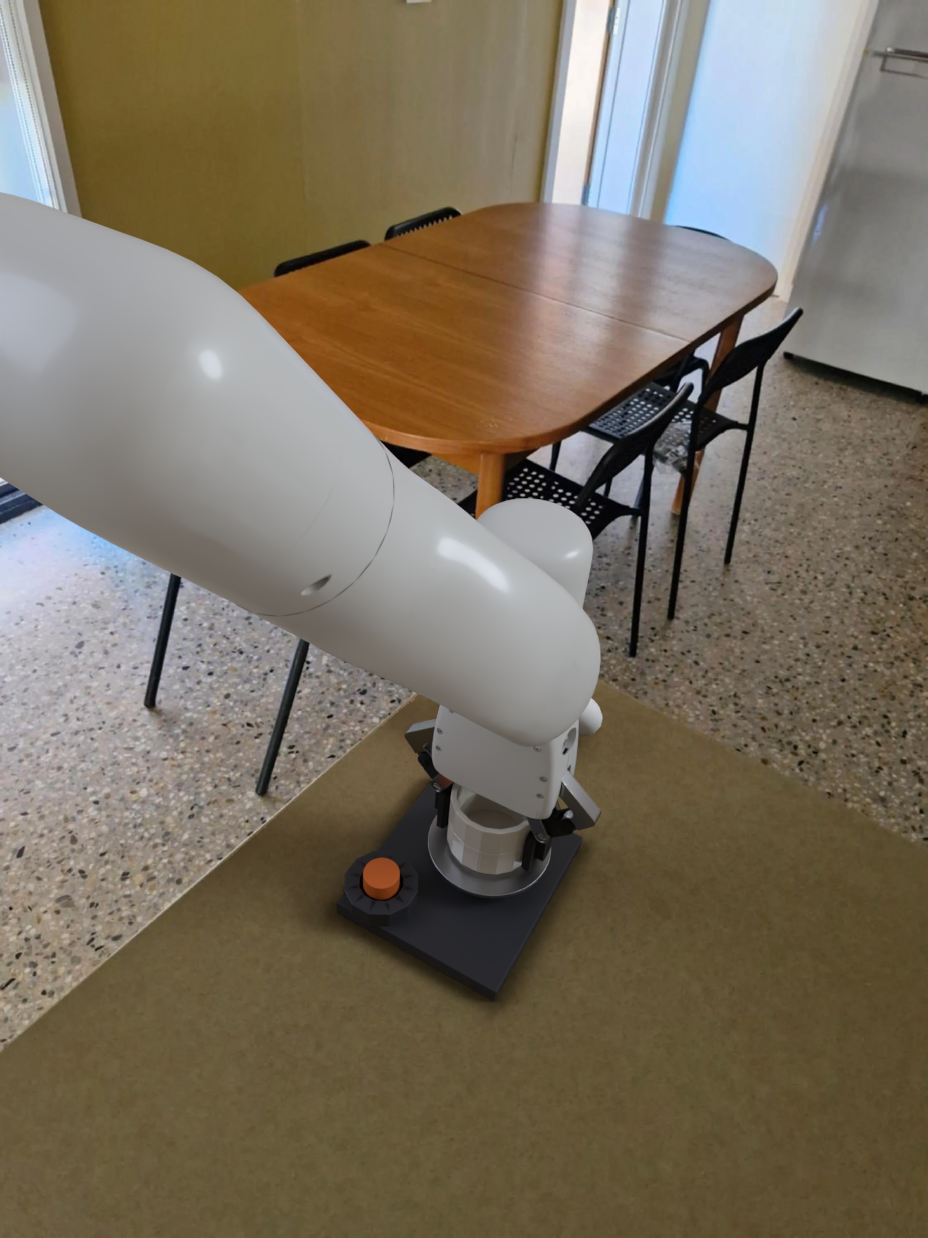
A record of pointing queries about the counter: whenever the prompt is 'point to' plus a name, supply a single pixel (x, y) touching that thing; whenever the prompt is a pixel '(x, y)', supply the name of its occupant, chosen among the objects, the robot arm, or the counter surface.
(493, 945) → the scale
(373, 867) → the tare button
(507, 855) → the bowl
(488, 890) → the brushed metal disc
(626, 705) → the counter surface
